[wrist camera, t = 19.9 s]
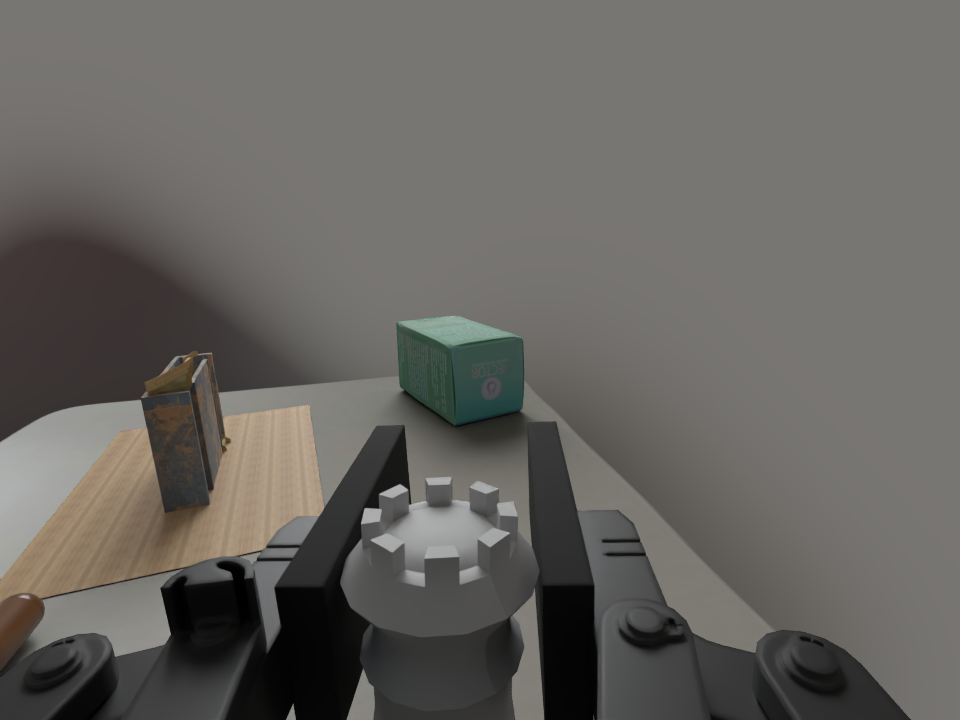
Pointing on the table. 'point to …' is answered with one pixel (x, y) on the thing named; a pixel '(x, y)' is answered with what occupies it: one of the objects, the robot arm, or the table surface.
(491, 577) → the rook chess piece
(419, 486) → the table surface
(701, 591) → the table surface
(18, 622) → the pan
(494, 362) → the box
